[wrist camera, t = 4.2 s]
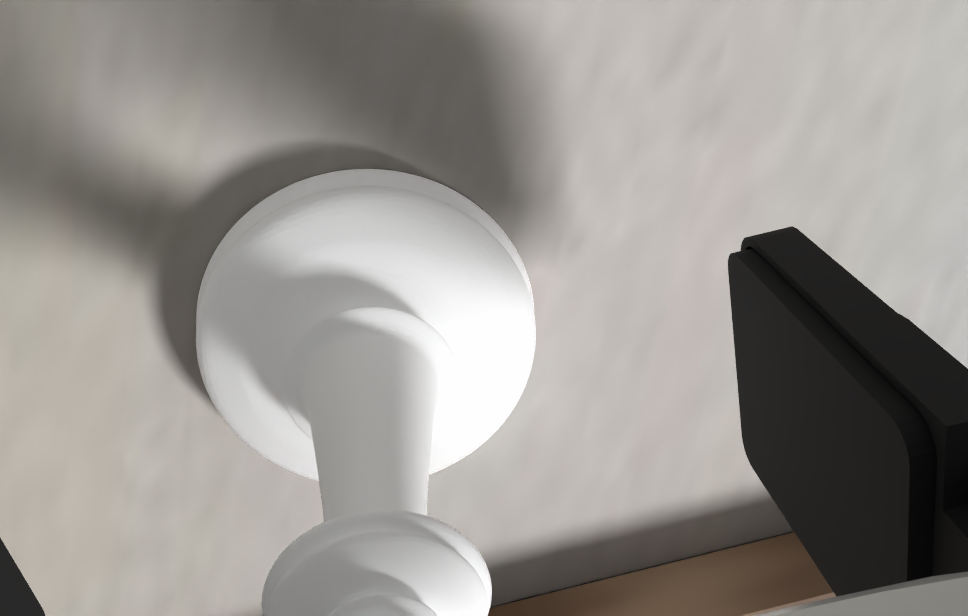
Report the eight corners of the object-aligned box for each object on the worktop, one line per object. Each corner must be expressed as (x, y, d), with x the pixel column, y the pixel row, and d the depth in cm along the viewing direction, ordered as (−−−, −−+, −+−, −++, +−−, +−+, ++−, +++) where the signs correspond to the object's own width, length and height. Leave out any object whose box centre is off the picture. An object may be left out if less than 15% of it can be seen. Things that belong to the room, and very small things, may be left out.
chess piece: (597, 332, 14) (1024, 1167, 5) (362, 515, 15) (373, 1483, 6) (379, 92, 12) (450, 788, 3) (122, 322, 13) (-394, 1360, 4)
